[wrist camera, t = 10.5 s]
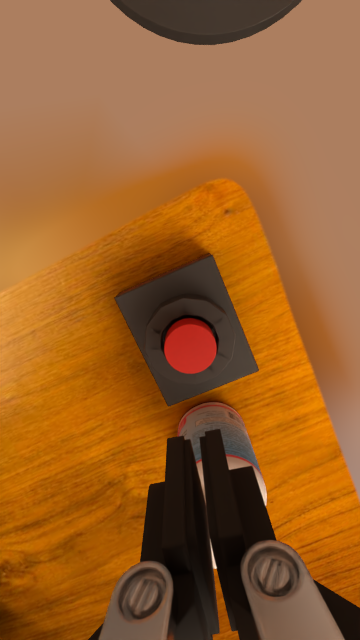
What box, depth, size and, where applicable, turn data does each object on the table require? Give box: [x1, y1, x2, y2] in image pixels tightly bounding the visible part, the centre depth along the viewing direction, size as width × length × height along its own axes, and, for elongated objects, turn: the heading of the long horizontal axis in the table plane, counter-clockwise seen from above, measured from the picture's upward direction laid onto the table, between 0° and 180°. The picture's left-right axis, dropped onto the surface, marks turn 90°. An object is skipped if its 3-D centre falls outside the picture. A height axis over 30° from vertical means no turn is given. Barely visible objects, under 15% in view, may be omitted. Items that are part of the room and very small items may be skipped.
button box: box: [115, 253, 259, 406], centre depth 25 cm, size 10×8×4 cm
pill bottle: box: [178, 402, 267, 569], centre depth 24 cm, size 6×6×11 cm
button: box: [164, 318, 217, 374], centre depth 23 cm, size 4×4×2 cm
